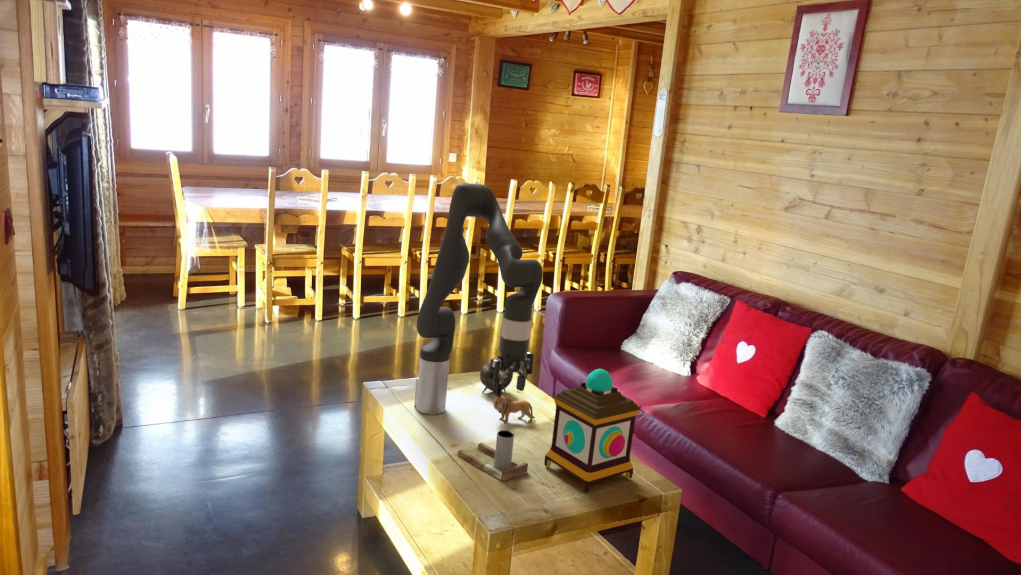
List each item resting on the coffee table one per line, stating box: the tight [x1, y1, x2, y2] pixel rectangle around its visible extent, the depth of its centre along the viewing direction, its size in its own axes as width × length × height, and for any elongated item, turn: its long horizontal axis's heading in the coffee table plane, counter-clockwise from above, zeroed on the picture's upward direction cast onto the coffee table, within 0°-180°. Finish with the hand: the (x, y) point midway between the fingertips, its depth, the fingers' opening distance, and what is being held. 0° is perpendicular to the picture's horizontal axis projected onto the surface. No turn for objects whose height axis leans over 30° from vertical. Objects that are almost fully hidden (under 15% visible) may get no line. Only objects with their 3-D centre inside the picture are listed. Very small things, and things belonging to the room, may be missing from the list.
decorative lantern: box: [543, 368, 642, 494], centre depth 197 cm, size 20×20×30 cm
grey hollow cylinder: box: [493, 429, 515, 472], centre depth 196 cm, size 4×4×10 cm
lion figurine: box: [493, 394, 536, 424], centre depth 229 cm, size 15×5×9 cm, turn 114°
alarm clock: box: [479, 347, 514, 394], centre depth 250 cm, size 11×5×16 cm, turn 119°
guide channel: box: [457, 442, 529, 482], centre depth 200 cm, size 18×9×2 cm, turn 46°
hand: (508, 393), depth 195 cm, fingers open, 8 cm apart
